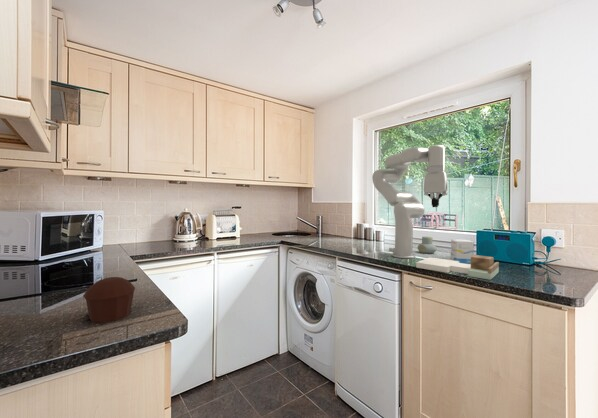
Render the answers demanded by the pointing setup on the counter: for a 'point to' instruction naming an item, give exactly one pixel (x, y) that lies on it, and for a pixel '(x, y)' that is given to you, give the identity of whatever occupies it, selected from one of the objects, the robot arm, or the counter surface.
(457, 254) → the ink box
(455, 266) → the platform
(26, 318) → the counter surface
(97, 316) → the muffin
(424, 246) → the air freshener
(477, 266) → the walnut block
